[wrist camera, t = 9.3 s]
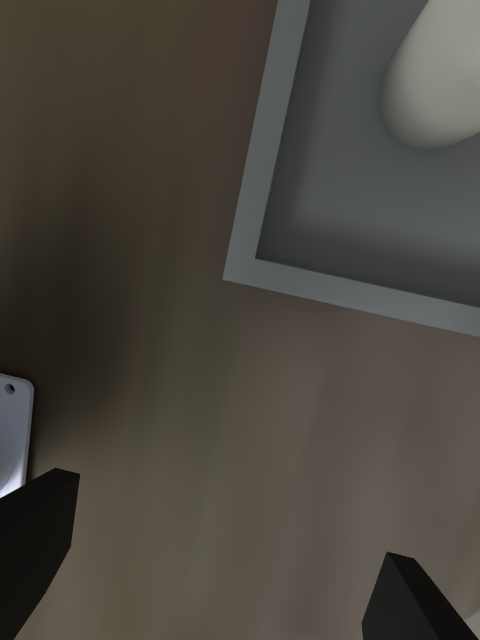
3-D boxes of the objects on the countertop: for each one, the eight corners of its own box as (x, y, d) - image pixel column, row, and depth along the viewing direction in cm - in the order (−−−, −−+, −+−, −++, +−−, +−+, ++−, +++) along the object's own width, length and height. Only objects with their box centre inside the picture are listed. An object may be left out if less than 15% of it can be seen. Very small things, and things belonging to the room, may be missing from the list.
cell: (365, 139, 15) (428, 73, 9) (396, 19, 14) (492, -153, 8) (472, 160, 15) (615, 108, 9) (511, 40, 14) (704, -119, 8)
